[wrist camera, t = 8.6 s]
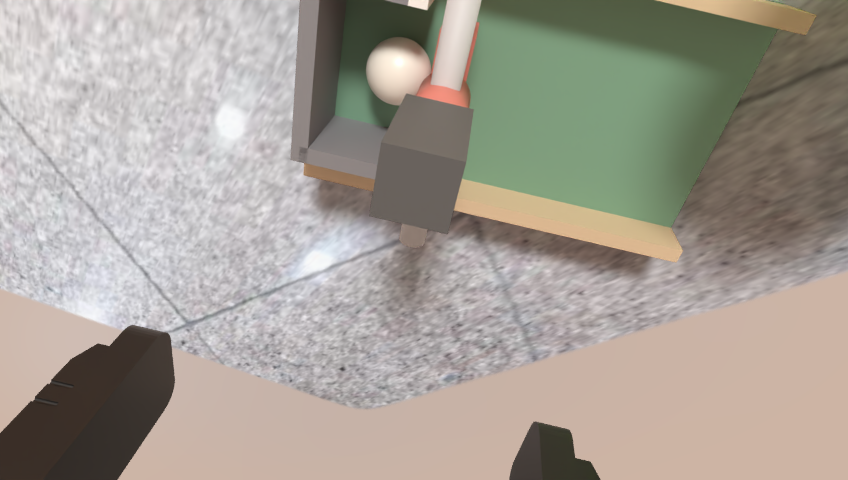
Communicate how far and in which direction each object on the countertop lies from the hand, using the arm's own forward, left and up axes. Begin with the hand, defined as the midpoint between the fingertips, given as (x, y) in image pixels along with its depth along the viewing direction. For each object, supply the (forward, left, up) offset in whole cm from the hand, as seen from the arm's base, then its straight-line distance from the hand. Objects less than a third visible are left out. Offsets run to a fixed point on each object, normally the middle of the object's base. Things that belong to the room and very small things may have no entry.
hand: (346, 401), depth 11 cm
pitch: (-5, 0, -28) cm, 28 cm away
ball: (+3, 0, -25) cm, 25 cm away
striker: (0, 0, -27) cm, 27 cm away
